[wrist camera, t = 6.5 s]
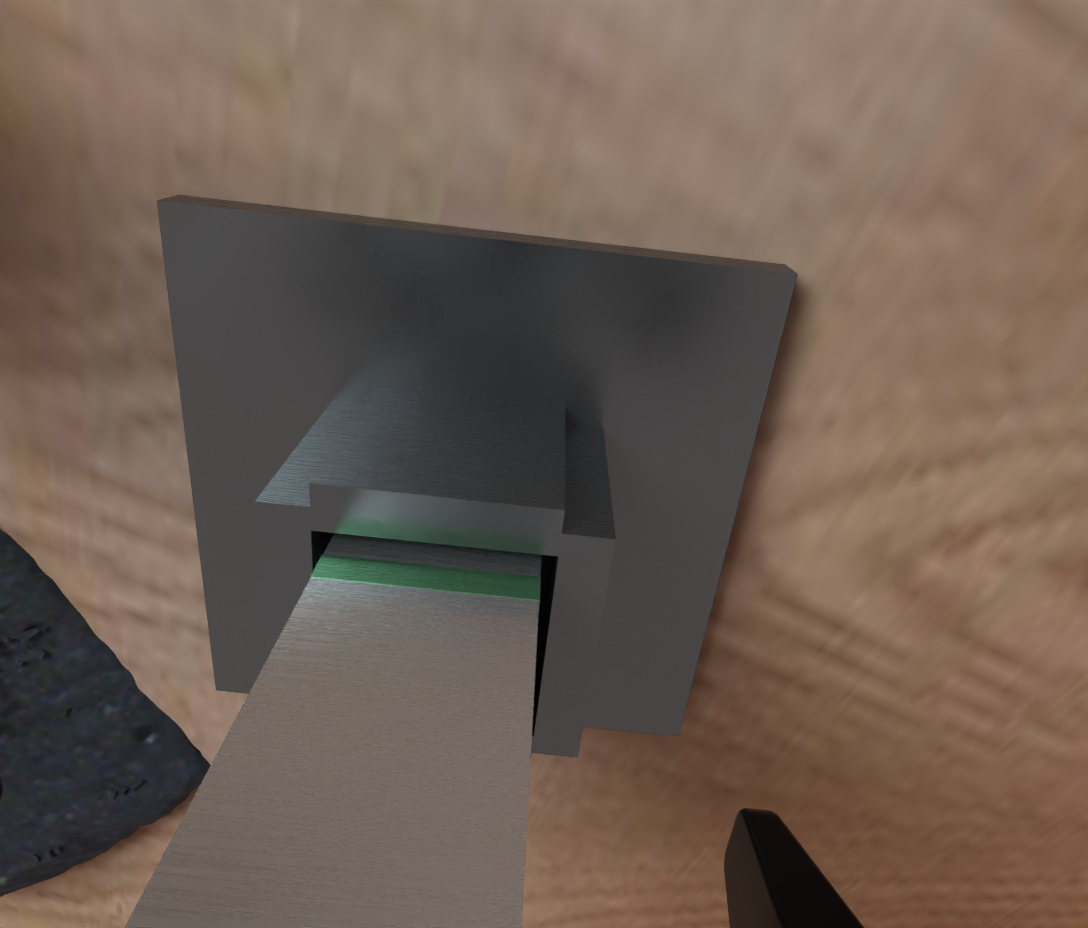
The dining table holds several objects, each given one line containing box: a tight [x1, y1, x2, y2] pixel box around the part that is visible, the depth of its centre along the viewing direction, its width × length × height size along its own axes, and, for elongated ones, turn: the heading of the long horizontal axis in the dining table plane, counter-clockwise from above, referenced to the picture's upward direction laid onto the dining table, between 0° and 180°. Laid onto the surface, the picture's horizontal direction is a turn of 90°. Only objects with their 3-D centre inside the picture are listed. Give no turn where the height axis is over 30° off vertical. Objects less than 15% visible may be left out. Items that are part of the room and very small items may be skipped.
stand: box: [157, 195, 798, 757], centre depth 17 cm, size 14×14×6 cm
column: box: [124, 533, 542, 928], centre depth 11 cm, size 4×4×10 cm
